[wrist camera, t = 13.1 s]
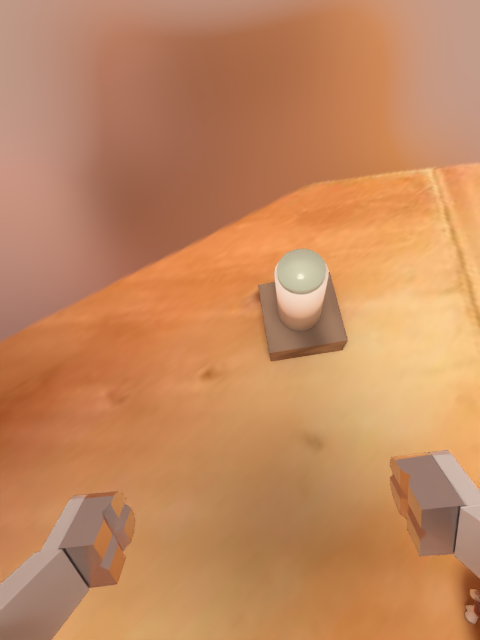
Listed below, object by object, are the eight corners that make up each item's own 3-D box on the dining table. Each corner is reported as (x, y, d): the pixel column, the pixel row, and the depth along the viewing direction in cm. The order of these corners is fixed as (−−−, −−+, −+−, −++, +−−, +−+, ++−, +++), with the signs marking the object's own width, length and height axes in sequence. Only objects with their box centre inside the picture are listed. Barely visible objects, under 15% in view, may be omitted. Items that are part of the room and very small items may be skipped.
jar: (281, 333, 37) (277, 297, 28) (275, 296, 39) (270, 251, 30) (324, 327, 37) (334, 288, 28) (316, 290, 39) (323, 242, 30)
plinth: (271, 361, 40) (269, 353, 37) (261, 298, 44) (258, 285, 40) (342, 349, 40) (347, 340, 36) (326, 286, 43) (329, 272, 39)
